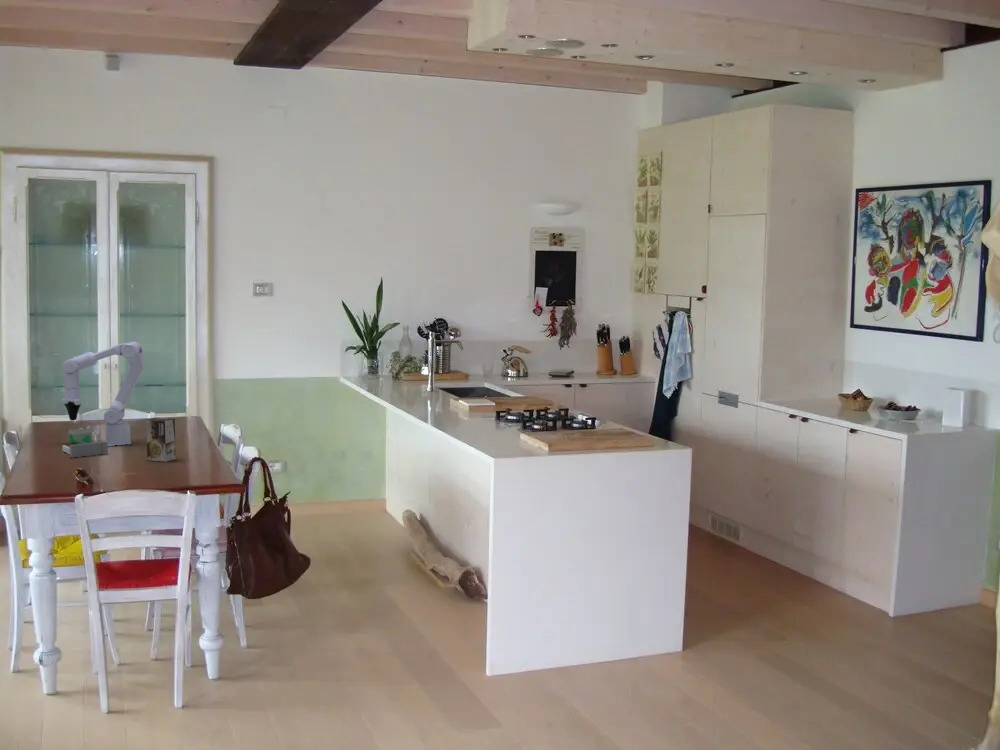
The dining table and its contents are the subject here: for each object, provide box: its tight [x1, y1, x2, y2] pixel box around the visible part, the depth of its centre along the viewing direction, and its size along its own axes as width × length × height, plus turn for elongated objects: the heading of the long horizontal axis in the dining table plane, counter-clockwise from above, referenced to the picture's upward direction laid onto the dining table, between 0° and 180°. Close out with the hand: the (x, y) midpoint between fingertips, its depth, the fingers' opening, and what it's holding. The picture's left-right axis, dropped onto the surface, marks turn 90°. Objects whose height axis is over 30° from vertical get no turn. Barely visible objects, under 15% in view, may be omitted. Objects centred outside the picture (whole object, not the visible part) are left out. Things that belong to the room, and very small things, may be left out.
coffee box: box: [145, 417, 176, 462], centre depth 404 cm, size 9×6×16 cm
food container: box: [68, 424, 94, 446], centre depth 419 cm, size 12×6×10 cm, turn 169°
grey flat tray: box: [61, 440, 109, 458], centre depth 416 cm, size 14×16×5 cm
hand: (73, 420), depth 433 cm, fingers closed
